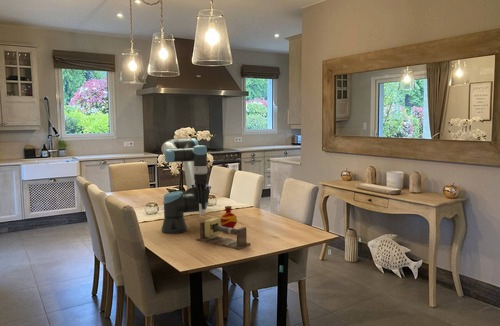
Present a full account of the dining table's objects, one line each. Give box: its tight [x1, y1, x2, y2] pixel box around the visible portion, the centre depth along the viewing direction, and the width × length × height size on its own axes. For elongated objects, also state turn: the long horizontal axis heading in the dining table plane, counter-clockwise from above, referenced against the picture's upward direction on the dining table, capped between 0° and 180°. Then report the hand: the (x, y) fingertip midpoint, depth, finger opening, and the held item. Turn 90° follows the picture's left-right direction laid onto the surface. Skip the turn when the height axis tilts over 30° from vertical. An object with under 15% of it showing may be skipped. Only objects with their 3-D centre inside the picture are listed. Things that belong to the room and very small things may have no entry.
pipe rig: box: [196, 220, 251, 251], centre depth 220 cm, size 30×10×10 cm, turn 54°
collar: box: [204, 216, 222, 238], centre depth 224 cm, size 4×9×9 cm, turn 144°
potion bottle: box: [220, 205, 238, 229], centre depth 242 cm, size 10×10×15 cm
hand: (202, 214), depth 228 cm, fingers closed
